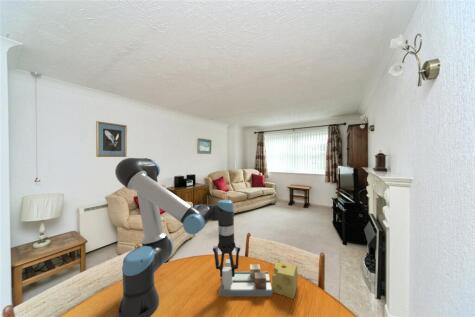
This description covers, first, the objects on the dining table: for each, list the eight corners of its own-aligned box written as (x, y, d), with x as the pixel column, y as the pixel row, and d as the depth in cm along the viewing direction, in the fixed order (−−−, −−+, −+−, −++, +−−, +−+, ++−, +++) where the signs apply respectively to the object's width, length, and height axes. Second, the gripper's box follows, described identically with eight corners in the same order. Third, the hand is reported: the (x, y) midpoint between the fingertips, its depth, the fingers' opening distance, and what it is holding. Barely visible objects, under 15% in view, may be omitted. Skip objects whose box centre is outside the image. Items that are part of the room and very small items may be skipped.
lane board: (219, 296, 81) (219, 290, 81) (223, 276, 95) (222, 271, 95) (272, 296, 80) (272, 290, 80) (268, 276, 94) (268, 271, 94)
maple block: (250, 279, 89) (250, 269, 89) (250, 274, 93) (249, 264, 93) (260, 279, 89) (260, 269, 89) (259, 273, 93) (259, 264, 93)
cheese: (271, 292, 83) (270, 270, 83) (277, 278, 92) (277, 259, 92) (294, 300, 78) (294, 276, 78) (298, 284, 87) (298, 264, 88)
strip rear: (225, 282, 89) (225, 263, 89) (226, 275, 94) (226, 258, 94) (269, 281, 88) (269, 263, 88) (268, 275, 93) (267, 258, 93)
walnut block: (255, 289, 82) (255, 278, 82) (254, 283, 86) (254, 272, 86) (266, 289, 82) (266, 278, 82) (265, 282, 86) (264, 272, 86)
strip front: (224, 292, 82) (223, 272, 82) (225, 284, 87) (224, 266, 87) (272, 292, 81) (271, 272, 81) (270, 284, 86) (269, 265, 86)
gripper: (208, 236, 82) (209, 288, 81) (243, 236, 81) (244, 288, 81) (211, 230, 89) (212, 278, 89) (243, 230, 89) (244, 278, 88)
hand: (227, 283), depth 85 cm, fingers closed on strip front, 3 cm apart
